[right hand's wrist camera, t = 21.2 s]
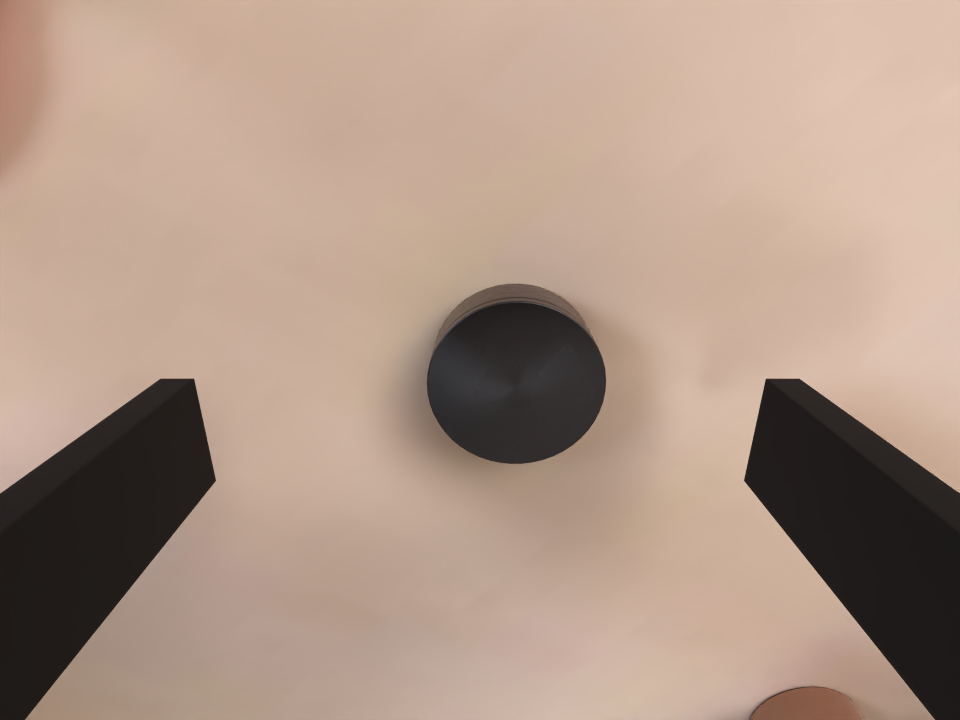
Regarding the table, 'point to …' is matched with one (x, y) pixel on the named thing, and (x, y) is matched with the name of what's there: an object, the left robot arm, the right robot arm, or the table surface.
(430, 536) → the table surface
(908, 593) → the right robot arm
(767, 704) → the bottle
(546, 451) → the lid
